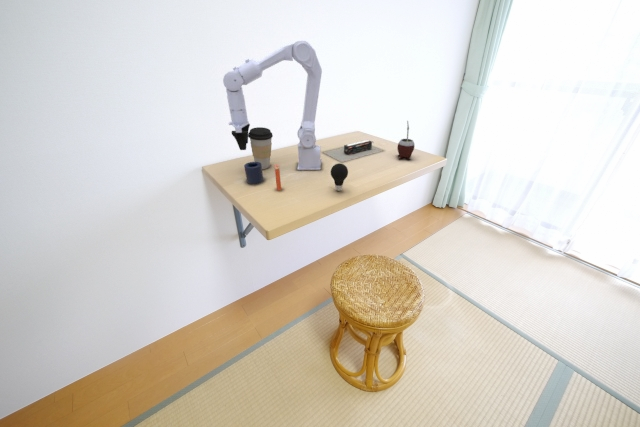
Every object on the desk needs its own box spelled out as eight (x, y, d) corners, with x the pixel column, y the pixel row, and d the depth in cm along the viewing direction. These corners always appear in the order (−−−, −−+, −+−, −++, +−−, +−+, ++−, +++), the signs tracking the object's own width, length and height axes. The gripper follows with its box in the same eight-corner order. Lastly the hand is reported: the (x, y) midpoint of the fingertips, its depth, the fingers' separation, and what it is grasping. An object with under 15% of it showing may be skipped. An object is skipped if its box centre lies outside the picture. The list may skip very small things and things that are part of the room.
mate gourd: (405, 162, 113) (411, 126, 105) (391, 156, 118) (396, 123, 110) (415, 158, 116) (422, 124, 108) (401, 153, 122) (407, 120, 114)
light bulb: (334, 196, 87) (335, 168, 82) (327, 188, 92) (327, 162, 87) (350, 192, 89) (351, 165, 84) (342, 185, 94) (343, 159, 88)
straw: (281, 188, 92) (279, 164, 87) (281, 190, 91) (278, 166, 86) (277, 188, 92) (274, 164, 88) (276, 190, 91) (274, 166, 86)
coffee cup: (269, 172, 105) (267, 136, 96) (247, 168, 106) (243, 132, 97) (276, 162, 112) (275, 128, 104) (256, 159, 114) (253, 125, 105)
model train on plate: (382, 150, 125) (383, 142, 123) (341, 162, 113) (342, 152, 111) (362, 143, 135) (363, 134, 133) (323, 152, 123) (323, 143, 121)
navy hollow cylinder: (264, 177, 100) (262, 161, 97) (261, 184, 95) (259, 168, 92) (249, 177, 100) (246, 161, 97) (245, 184, 95) (242, 168, 92)
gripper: (229, 105, 99) (235, 141, 106) (223, 114, 87) (231, 153, 94) (248, 105, 99) (253, 140, 107) (244, 113, 87) (250, 152, 95)
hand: (244, 146), depth 100 cm, fingers open, 7 cm apart
